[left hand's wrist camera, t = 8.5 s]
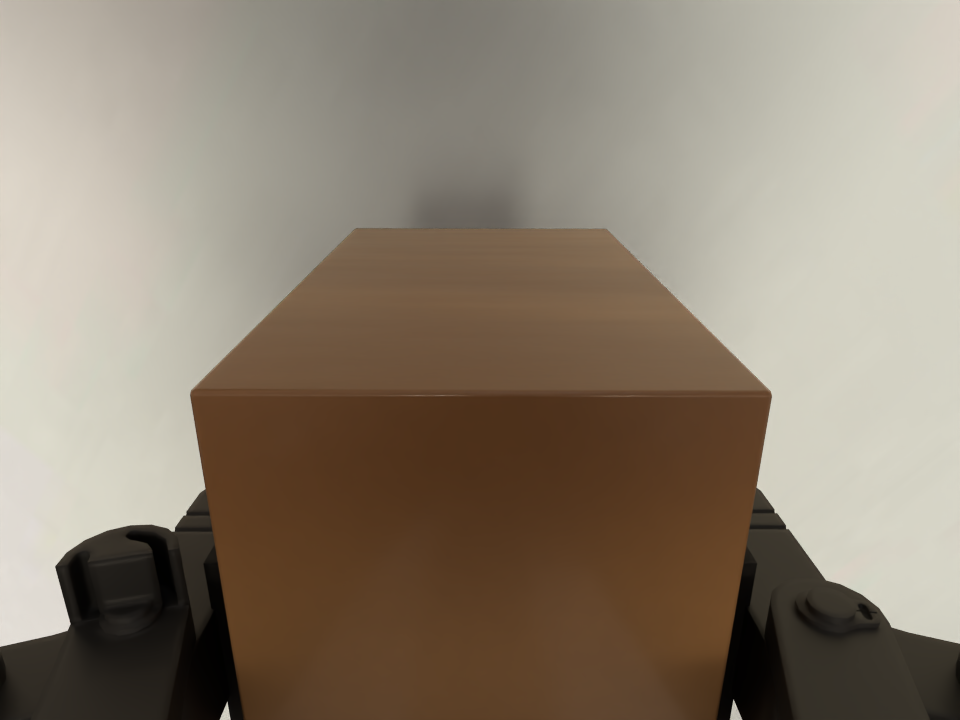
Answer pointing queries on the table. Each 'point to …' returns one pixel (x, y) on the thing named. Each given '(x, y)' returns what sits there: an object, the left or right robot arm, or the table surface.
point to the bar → (480, 485)
